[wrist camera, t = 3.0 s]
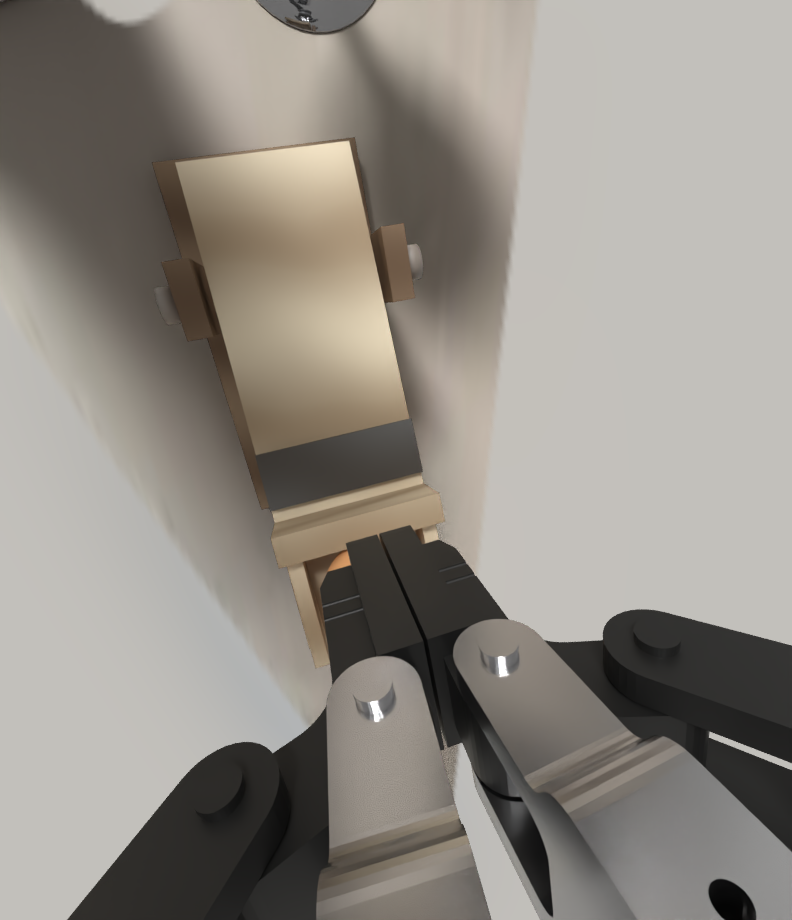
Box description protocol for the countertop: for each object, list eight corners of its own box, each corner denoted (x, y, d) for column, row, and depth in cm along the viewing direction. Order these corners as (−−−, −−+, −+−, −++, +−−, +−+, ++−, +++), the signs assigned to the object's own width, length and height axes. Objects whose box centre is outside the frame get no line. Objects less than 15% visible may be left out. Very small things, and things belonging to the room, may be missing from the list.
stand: (157, 169, 20) (72, 70, 12) (351, 144, 22) (396, 42, 13) (262, 502, 26) (254, 592, 18) (407, 464, 28) (463, 531, 19)
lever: (184, 181, 15) (154, 122, 12) (345, 159, 16) (355, 100, 13) (309, 633, 18) (310, 680, 15) (440, 592, 19) (467, 628, 16)
